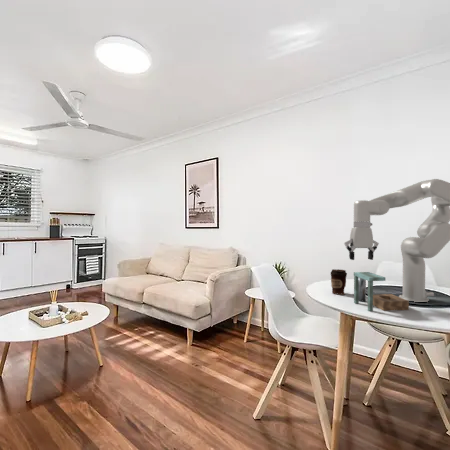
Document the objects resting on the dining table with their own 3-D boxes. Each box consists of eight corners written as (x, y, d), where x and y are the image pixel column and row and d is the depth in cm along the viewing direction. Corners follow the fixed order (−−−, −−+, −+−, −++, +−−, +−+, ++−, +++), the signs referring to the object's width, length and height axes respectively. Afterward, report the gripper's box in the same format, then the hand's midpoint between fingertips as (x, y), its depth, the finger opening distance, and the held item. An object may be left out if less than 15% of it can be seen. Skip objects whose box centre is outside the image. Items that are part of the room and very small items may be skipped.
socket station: (390, 301, 141) (390, 271, 141) (409, 310, 128) (409, 276, 128) (353, 302, 139) (353, 272, 139) (369, 311, 126) (369, 277, 126)
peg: (362, 299, 145) (363, 275, 145) (367, 301, 141) (367, 277, 141) (355, 299, 145) (355, 276, 145) (359, 301, 141) (359, 277, 141)
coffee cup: (341, 296, 151) (341, 272, 151) (327, 293, 157) (327, 270, 157) (349, 293, 157) (349, 270, 156) (335, 290, 163) (335, 268, 163)
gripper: (373, 225, 147) (373, 258, 147) (341, 225, 146) (340, 258, 146) (383, 225, 139) (382, 260, 140) (349, 225, 138) (348, 260, 138)
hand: (361, 259), depth 143 cm, fingers open, 9 cm apart
